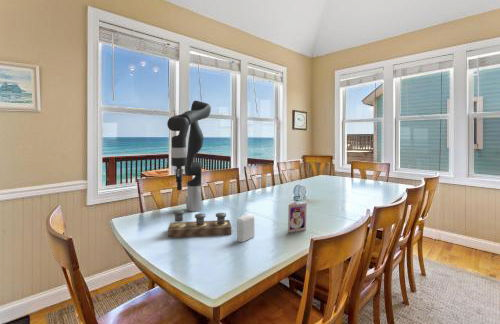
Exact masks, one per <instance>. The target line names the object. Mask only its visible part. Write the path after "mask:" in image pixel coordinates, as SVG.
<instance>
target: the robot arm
mask: <svg viewBox="0 0 500 324" xmlns="http://www.w3.org/2000/svg"><path fill="white" fill-rule="evenodd" d="M190 107H191V108H190V110H186V111H184V112H183V113H181V114H177V115H173V116H171V117H169V119H168V120H167V122H166V123H167V128H168V129H169V130H170V131H171V132H179V133H178V134H177V135H173V136H172V137H171V150H170V152H171V153H170V154H171V155H170V156H171V157H170V158H171V160H170V161H171V162H170V163H171V166H172V167H175V168H176V169H175V168H174V174H175V182H176V189H177V191H182V189H183V188H182V187H183V185H182V184H183V177H184V174H185V176H190V177H193V178H192V179H189V180H188V181H187V182H186V185H187V186H186V187H187V189H186V190H187V191H186V192H187V196H186V197H185V199H186V200H185V201H186V205H185V208H186V209H185V210H186V211H188V212H191V213H193V212H199V211H201V210H202V171H203V170H202V169H203V168H202V164H201V161H194V158H195V157H196V155H197V154H198V153H199V152H200V151H201V149H202V147H203V145H204V144H203V143H204V134H203V131H202V129H201V127H200V125H199V121H200V120H204V119H207V118H209V116H210V114H211V109H212V108H211V105H210V104H209V103H206V102H204V101H200V100H193V101H192V103H191V106H190ZM188 131H189V135H188ZM187 136H188V143H186V142H187V141H186V140H187ZM183 167H184V168H183Z"/></svg>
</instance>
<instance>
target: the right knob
mask: <svg viewBox="0 0 500 324" xmlns="http://www.w3.org/2000/svg"><path fill="white" fill-rule="evenodd" d="M215 217H216V220H217V224H225V220H226V217H227V213H226V212H216V213H215Z"/></svg>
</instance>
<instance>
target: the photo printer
mask: <svg viewBox="0 0 500 324" xmlns="http://www.w3.org/2000/svg"><path fill="white" fill-rule="evenodd" d="M255 219H256V218H255V215H254V214H251V213H245V214H242V215H241V216H239V218H238V219H237V220H236V240H237V241H238V243H244V242H245V241H249V240H251V239H252V238H255V231H256V230H255V229H256V227H255V226H256V225H255V223H256V222H255V221H256V220H255Z"/></svg>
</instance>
